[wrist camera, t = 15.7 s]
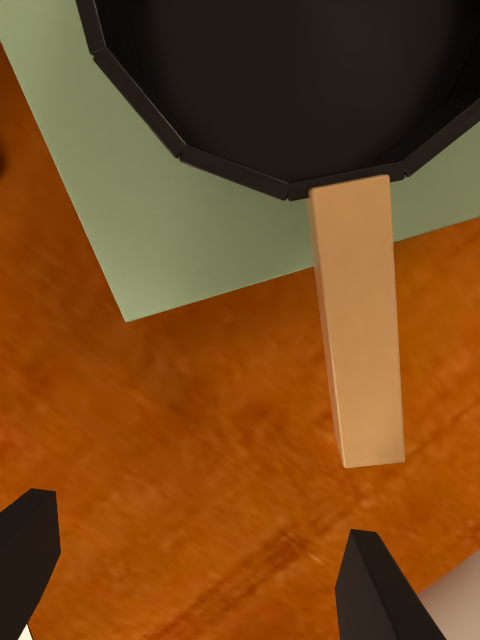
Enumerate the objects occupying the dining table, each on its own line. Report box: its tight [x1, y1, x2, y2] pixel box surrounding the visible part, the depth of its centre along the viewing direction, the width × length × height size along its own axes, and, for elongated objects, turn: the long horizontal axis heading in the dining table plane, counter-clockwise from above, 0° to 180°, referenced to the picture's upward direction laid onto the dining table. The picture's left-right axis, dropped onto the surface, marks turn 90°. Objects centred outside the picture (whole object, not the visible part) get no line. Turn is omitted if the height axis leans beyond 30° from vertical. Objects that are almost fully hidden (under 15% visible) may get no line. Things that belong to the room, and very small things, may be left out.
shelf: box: [0, 0, 480, 322], centre depth 12 cm, size 14×13×6 cm
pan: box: [75, 0, 480, 468], centre depth 9 cm, size 17×10×4 cm, turn 11°
